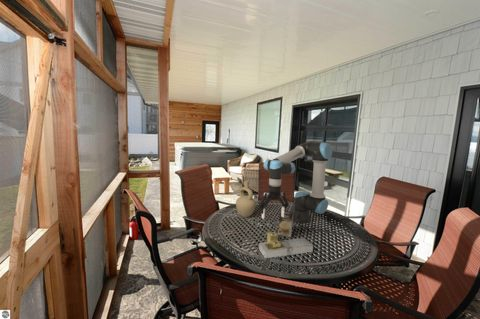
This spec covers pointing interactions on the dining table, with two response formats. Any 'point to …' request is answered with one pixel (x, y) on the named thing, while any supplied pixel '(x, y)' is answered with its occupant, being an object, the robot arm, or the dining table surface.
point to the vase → (245, 201)
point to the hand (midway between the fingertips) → (272, 217)
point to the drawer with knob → (274, 244)
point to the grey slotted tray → (286, 248)
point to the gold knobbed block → (272, 236)
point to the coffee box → (285, 224)
